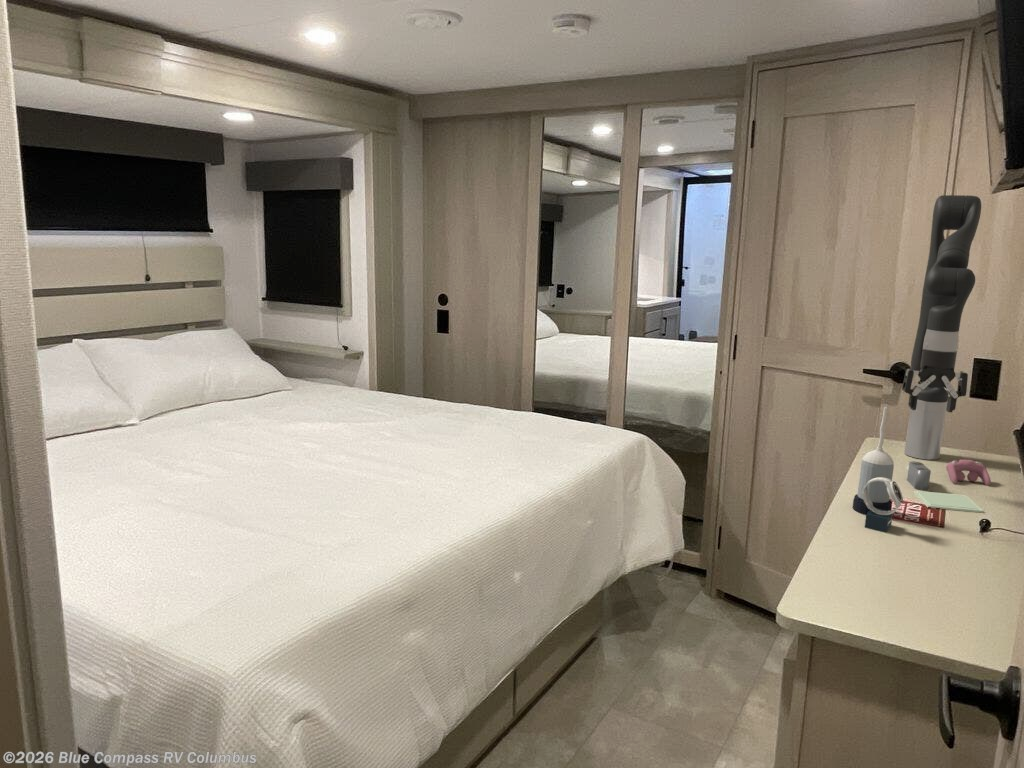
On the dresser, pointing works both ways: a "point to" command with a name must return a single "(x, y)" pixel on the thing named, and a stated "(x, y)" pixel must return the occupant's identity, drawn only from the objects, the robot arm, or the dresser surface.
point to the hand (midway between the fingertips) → (930, 410)
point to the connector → (918, 475)
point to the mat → (948, 501)
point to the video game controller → (967, 465)
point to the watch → (879, 517)
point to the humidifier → (875, 476)
